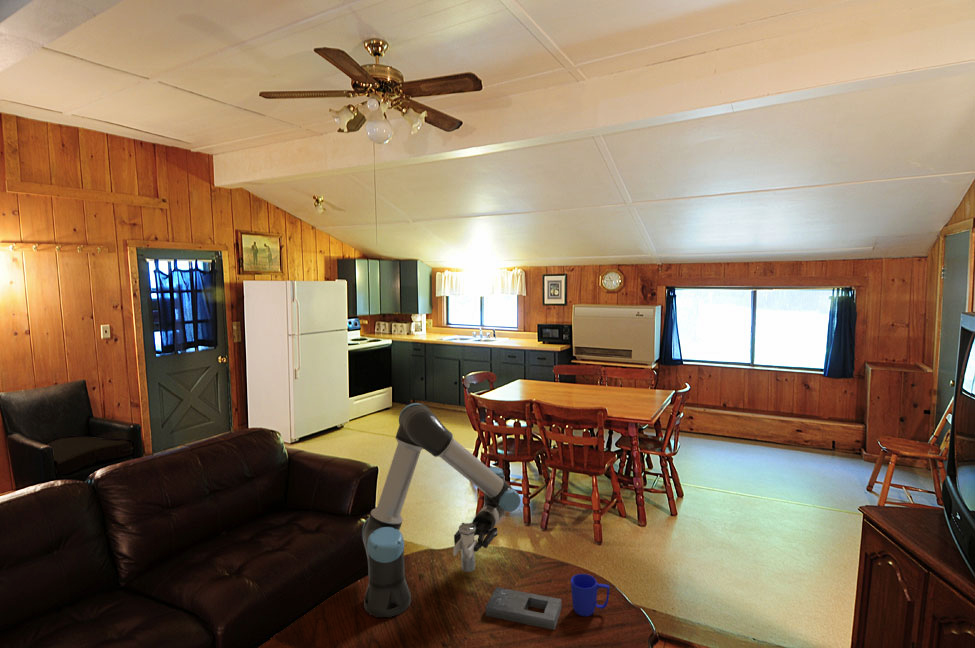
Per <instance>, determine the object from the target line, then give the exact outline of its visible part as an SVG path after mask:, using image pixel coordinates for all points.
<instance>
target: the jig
mask: <svg viewBox="0 0 975 648" xmlns="http://www.w3.org/2000/svg"><path fill="white" fill-rule="evenodd" d="M530 607H531V608H536V609H541V610H544V612H540V611H539V612H538V611H532V610H529V608H530ZM561 612H562V598H558V597H557V598H555V597H553V596H546V595H541V594H535V593H530V592H525V591H519V590H514V589H508V588H505V587H498V586H496V587H495V589H494V591H493V593H492V595H491V596H490V598H489V600H488V602H487V604H486V605H485V616H486V617H490V618H495V619H498V620H505V621H509V622H513V623H519V624H523V625H524V624H525V625H529V626H534V627H537V628H538V627H539V628H543V629H547V630H552V631H556V630H555V629H556V626H557V623H558V620H559V617H560V614H561Z"/></svg>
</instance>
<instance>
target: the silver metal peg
mask: <svg viewBox="0 0 975 648" xmlns="http://www.w3.org/2000/svg"><path fill="white" fill-rule="evenodd" d="M464 523H465V522H464ZM471 523H472V522H470V523H469V522H466V523H465V524H462V523H461V524H460V525H459V527H458V530H459V533H461V550H460V553H461V571H462V572H465V573H470V572H474V571H475V569H476V557H475V556H476V555H475V554H476V551H475V552H474V554H473V555H472V557H471V558H468V549H469V548H470V546H471V545H472V544H473V542H474V541H475V536H474V533H475V532H476V526H475V525H474V524H471Z"/></svg>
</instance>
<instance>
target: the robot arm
mask: <svg viewBox="0 0 975 648" xmlns="http://www.w3.org/2000/svg"><path fill="white" fill-rule="evenodd" d="M398 424H399V425H398V428H397V431H396V435H395V440H396V441H397V445H396V448H395V451H394V455H393V457H392V461H391V464H390V467H389V470H388V473H387V474H386V479H385V482H384V485H383V488H382V491H381V494H380V497H379V500H378V504H377V506H376V507H375V508H373V509H372V510H371V511H370V514H369V516H368V518H366V520H365V521H364V522H363V526H362V530H361V531H362V532H361V539H362V542H363V546H364V549H365V554H366V557H367V558H366V559H367V567H368V569H367V571H368V584H367V589H366V592H365V595H364V599H363V607H364V608H365V609H364V611H365V610H366V611H367V612H368V613H369V614H371V615H373V616H376V617H375V618H377V617H388V618H393V617H396V616H398V615H400V614H402V613H404V612H405V611H406V610H407V609H408V608H409V607H410V606H411V602H412V596H411V590H410V588H409V587H408V586H409V585H408V584H407V583H408V582H407V580H406V577H405V576H406V574H405V541H404V536H403V533H402V532H401V531H400V530H401V527H402V524H403V517H402V515H401V513H402V510H403V506H404V504H405V500H406V497H407V494H408V493H409V492H408V491H409V488H410V485H411V483H412V479H413V476H414V473H415V470H416V467H417V464H418V461H419V458H420V454H421V452H422V450H425V451H426V452H428V453H429V454H430V455H432V456H433V457H434V458H436V457H437V458H438V457H439V458H440V459H441V460H443V461H444V462H445V463H447V464H448V465H449V466H450V467H452V468H453V469H454V470H455V471H457V472H458V473H459V474H460V475H461V476H463V478H466V480H468V481H469V482H470V483H471V484H473V485H474V486H475V487H477V488H478V489H479V490H480V491H482V492H483V498H484V499H483V500H484V501H483V504H484V505H483V507H482V508H481V509H480V511H478V512H477V514H476V515H475V516H474V518H473V520H472V522H470V523H471V524H474V525H475V526H476V532H475V533H474V537H476V536H478V537H477V539H476V540H475V539H474V542H473V544H472V545H471V546H470V548H469V549H468V558H471V557H472V555H473V554H474V552H475V553H476V552H478V551H479V550H480V549H481V548H482V547H483V549H487V548H488V547H489V546H490V544H491V542H492V541H493V540H494V539H495V537H497V536H498V527H495V526H496V525H498V522H499V521H500V520H501V518H502V517H503V516H504V514H505V512H508V513H511V512H515V511H516V510H517V509H519V506H520V505H521V496H520V494H519V493H518V491H517V490H516V489H514V488H513V487H512V486H511V485H510V484H509V483H508V482H507V481H506V480H505V479H504V478H505V476H504V470H503V469H502V468H501V467H498V466H497V467H496V466H491V467H488V466H487V465H486V464H485V463H483V462H482V461H481V460H480V459H479V458H477V457H476V456H475V455H473V453H471V452H470V451H469V450H468V449H466V447H464V446H463V445H461V443H459V442H458V441H457V440H456V439H455V438H454V434H453V433H452V432H451V431H450V430H449V429H448V428H447V427H446V426H445V425H444V424H443V423H442V422H441V420H440V419H439V418H438V417H437V415H436V414H435V413H433V412H432V411H431V409H430V408H429V407H428V406H427V405H424V404H422V403H420V402H419V403H418V402H416V403H415V402H414V403H413V402H412V403H409V404H408V405H406V406H404V408H402V410H401V411H400V413H399V417H398ZM462 524H465V522H462V523H461V525H462ZM453 538H454V540H453V541H454V542H453V543H454V546H453V547H452V548H453V549H452V550H453V554H452V555H453V557H457V555H458V553H459V552H461V533H459V529H458V530H457V531H456V533H455V534H454V535H453ZM366 611H365V612H366ZM367 612H366V613H367ZM368 613H367V614H368ZM369 614H368V615H369ZM371 615H370V616H371ZM395 615H396V616H395ZM373 616H372V617H373ZM392 616H393V617H392Z"/></svg>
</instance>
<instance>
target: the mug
mask: <svg viewBox="0 0 975 648" xmlns="http://www.w3.org/2000/svg"><path fill="white" fill-rule="evenodd" d="M570 587H571V588H570V589H571V598H572V608H573V611H574V612H575V613H576V614H577V615H579V616H581V617H589V616H591V615H593V614H594V613H595V610H596V608H598V609H601V610H603V609H605V608H606V607H607V606H608V603H609V600H610V599H609V597H610V585H609V584H604V583H598V581H597V579H596V578H595V577H594V576H593V575H590V574H586V573H577V574H575V575H573V576H571V578H570ZM602 588H603V589H606V598H605V601H604V603H603V604H598V603H597V599H598V591H599V589H602Z"/></svg>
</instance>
